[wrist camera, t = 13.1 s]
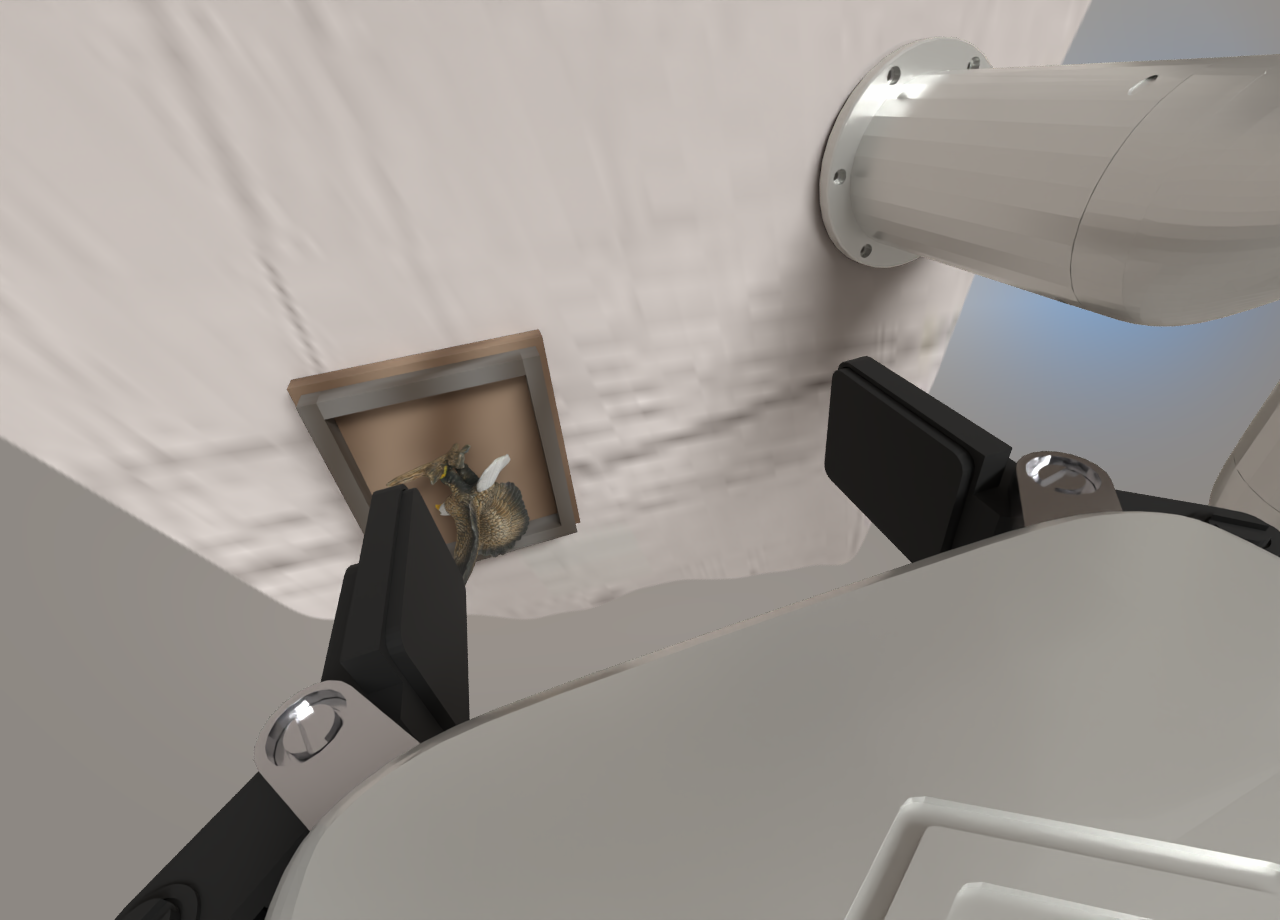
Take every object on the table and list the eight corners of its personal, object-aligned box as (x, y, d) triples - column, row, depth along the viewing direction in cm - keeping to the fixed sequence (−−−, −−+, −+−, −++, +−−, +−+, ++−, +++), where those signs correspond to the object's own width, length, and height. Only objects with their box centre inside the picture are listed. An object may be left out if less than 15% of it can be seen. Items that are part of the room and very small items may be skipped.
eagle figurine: (360, 482, 32) (426, 607, 34) (407, 482, 26) (481, 629, 29) (468, 431, 36) (519, 543, 39) (525, 423, 31) (580, 553, 34)
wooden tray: (538, 329, 33) (546, 345, 30) (576, 512, 41) (584, 535, 39) (291, 379, 30) (281, 401, 28) (388, 565, 38) (386, 592, 36)
